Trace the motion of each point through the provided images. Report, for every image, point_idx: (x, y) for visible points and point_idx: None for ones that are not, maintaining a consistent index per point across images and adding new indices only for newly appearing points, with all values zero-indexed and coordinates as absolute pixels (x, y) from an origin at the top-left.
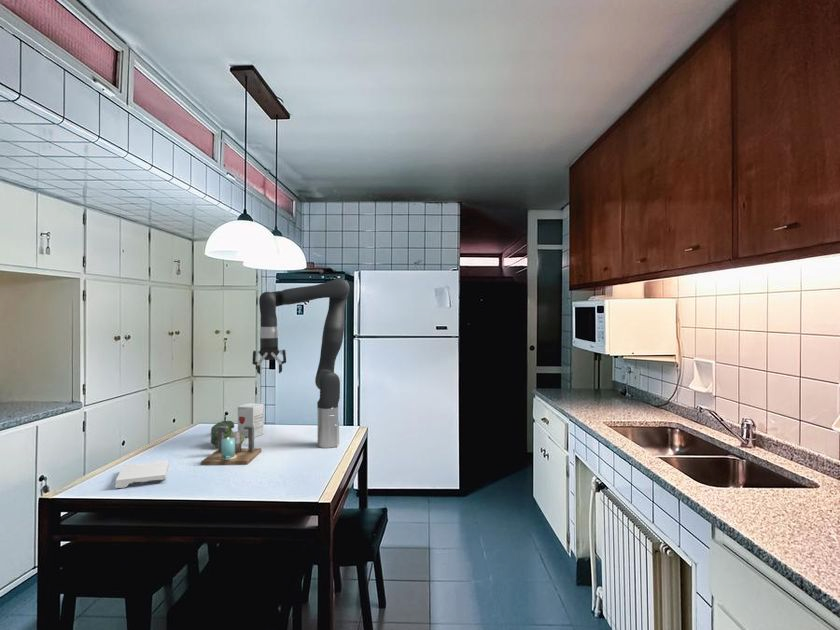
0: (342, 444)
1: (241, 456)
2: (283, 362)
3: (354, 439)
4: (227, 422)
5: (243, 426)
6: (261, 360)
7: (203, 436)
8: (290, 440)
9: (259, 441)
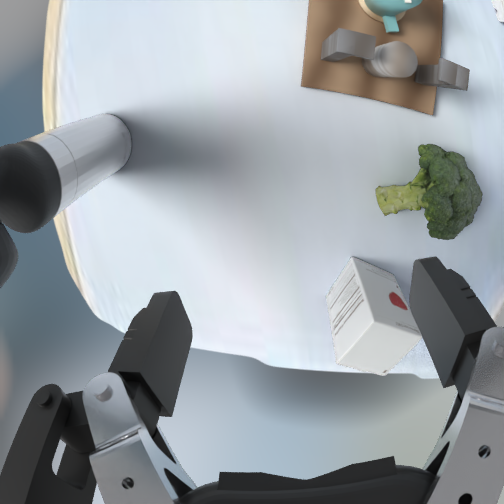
0: None
1: (345, 5)
2: (74, 405)
3: None
4: (449, 204)
5: (387, 285)
6: (491, 411)
7: None
8: (230, 212)
9: (328, 215)
